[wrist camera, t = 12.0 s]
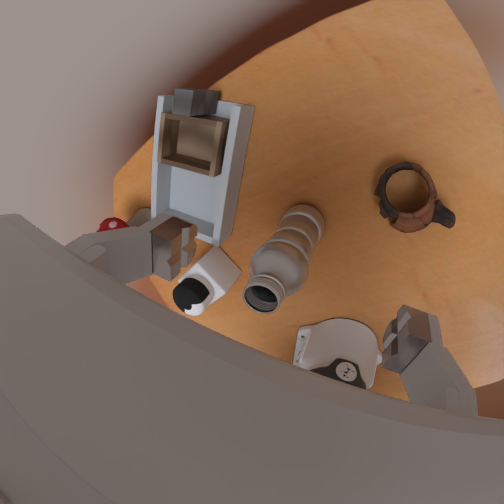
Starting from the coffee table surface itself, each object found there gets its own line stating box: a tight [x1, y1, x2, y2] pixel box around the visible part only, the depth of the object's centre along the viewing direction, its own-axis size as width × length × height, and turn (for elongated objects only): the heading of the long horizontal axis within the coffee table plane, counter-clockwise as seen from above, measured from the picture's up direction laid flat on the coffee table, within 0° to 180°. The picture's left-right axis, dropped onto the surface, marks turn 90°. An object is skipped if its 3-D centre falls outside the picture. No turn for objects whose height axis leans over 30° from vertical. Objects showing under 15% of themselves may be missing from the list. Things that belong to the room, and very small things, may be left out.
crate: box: [157, 89, 230, 178], centre depth 37 cm, size 12×10×7 cm
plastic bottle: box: [243, 205, 324, 314], centre depth 34 cm, size 6×7×20 cm
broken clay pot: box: [374, 162, 455, 233], centre depth 32 cm, size 12×10×8 cm
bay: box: [151, 95, 255, 247], centre depth 42 cm, size 22×14×5 cm, turn 169°
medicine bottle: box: [173, 245, 242, 316], centre depth 48 cm, size 7×7×12 cm
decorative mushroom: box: [97, 208, 151, 232], centre depth 48 cm, size 10×9×15 cm
